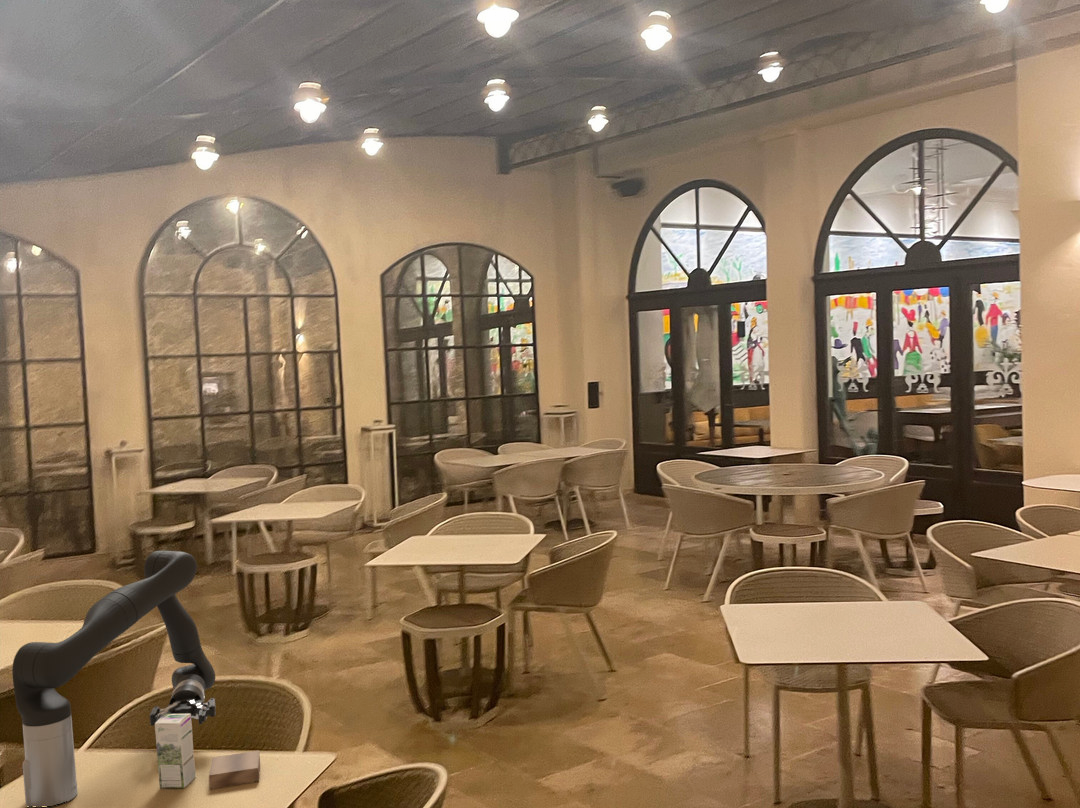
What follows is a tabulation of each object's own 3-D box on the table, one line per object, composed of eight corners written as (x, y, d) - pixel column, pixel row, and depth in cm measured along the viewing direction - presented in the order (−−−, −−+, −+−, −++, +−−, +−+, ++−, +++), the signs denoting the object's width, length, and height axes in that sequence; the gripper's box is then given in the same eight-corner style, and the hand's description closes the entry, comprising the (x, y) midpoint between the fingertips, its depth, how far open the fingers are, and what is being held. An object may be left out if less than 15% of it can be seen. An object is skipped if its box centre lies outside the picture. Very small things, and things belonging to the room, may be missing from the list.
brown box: (209, 789, 205) (208, 775, 205) (213, 770, 215) (212, 757, 215) (259, 781, 208) (258, 767, 208) (260, 763, 217) (259, 750, 217)
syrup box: (196, 777, 212) (191, 711, 211) (184, 789, 206) (179, 722, 205) (171, 777, 212) (166, 712, 212) (158, 789, 206) (153, 722, 206)
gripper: (154, 688, 233) (145, 711, 218) (217, 679, 237) (212, 701, 221) (157, 718, 234) (148, 743, 218) (219, 709, 237) (214, 734, 222)
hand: (180, 722), depth 220 cm, fingers open, 8 cm apart
